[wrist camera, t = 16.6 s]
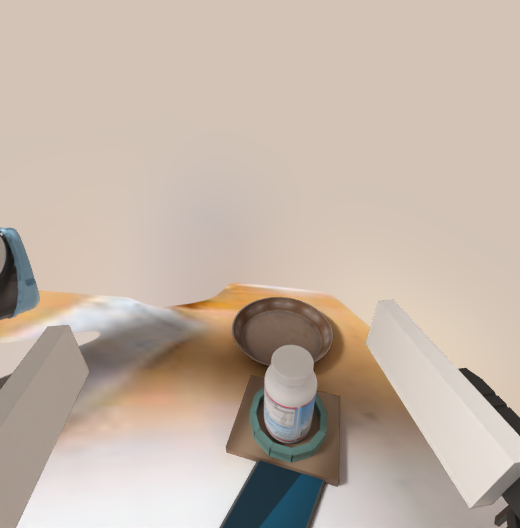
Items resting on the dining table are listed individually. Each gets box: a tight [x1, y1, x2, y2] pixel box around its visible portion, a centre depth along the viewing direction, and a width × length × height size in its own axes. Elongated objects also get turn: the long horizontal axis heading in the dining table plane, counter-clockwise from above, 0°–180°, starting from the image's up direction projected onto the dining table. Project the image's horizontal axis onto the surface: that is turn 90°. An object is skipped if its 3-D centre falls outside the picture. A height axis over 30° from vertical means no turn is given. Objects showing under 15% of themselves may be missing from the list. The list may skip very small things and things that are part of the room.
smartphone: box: [220, 460, 325, 528], centre depth 28 cm, size 8×15×1 cm, turn 148°
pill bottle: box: [264, 345, 317, 443], centre depth 32 cm, size 6×6×11 cm
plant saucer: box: [232, 297, 333, 367], centre depth 49 cm, size 18×18×3 cm
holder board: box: [226, 375, 340, 486], centre depth 35 cm, size 13×10×3 cm
